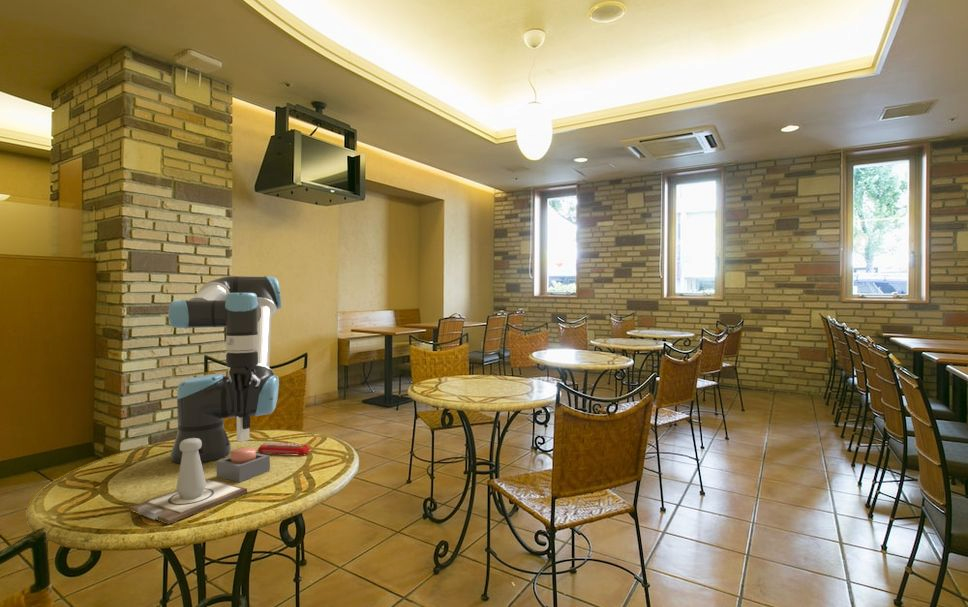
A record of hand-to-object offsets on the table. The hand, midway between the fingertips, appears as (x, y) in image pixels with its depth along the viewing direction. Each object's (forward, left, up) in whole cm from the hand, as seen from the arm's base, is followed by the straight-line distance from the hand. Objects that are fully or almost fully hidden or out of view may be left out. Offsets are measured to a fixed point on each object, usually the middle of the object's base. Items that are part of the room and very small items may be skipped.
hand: (243, 440), depth 127 cm
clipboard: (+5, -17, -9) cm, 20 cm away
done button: (0, 0, -6) cm, 6 cm away
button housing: (0, 0, -9) cm, 9 cm away
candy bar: (-4, +17, -9) cm, 20 cm away
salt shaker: (+5, -17, -8) cm, 19 cm away
